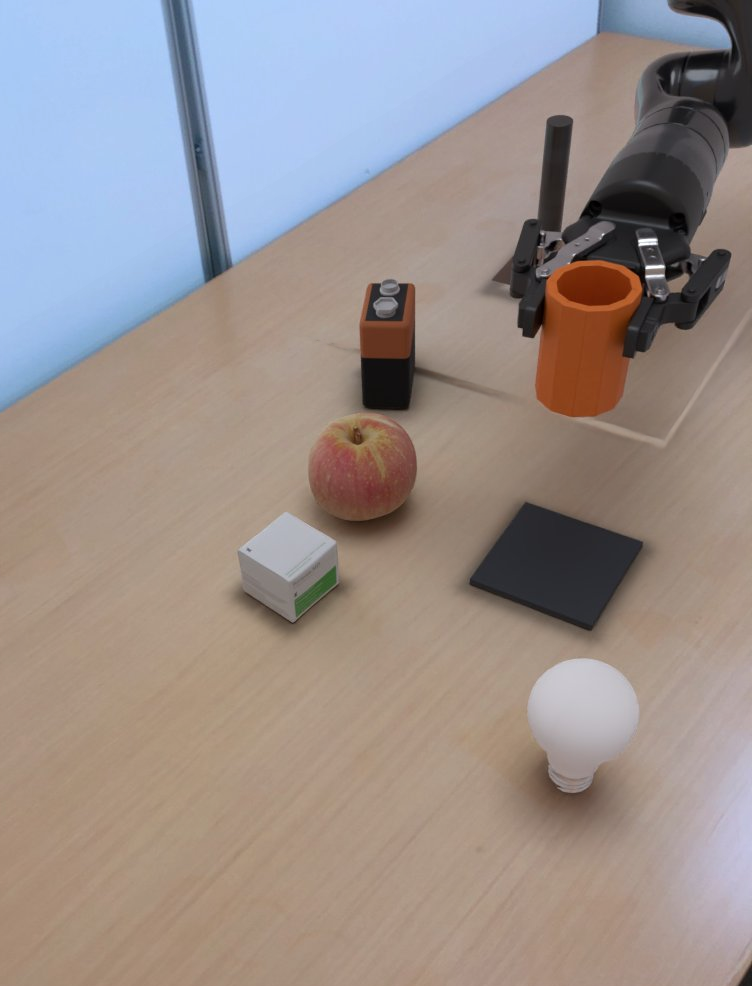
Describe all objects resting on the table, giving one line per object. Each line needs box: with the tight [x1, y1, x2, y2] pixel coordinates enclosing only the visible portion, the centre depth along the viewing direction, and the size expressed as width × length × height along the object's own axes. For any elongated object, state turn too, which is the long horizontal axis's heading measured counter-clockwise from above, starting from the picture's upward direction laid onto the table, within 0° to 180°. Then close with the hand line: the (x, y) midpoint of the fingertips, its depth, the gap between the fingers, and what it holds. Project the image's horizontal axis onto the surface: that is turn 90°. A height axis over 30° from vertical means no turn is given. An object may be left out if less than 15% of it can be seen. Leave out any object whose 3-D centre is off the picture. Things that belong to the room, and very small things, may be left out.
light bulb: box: [526, 657, 640, 794], centre depth 69 cm, size 7×7×11 cm
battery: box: [358, 278, 416, 410], centre depth 99 cm, size 4×7×10 cm, turn 170°
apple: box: [307, 412, 418, 522], centre depth 90 cm, size 9×9×8 cm
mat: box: [469, 501, 644, 631], centre depth 86 cm, size 10×10×1 cm
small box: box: [237, 511, 340, 623], centre depth 85 cm, size 6×6×5 cm
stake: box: [491, 114, 574, 286], centre depth 106 cm, size 8×8×16 cm
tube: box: [534, 260, 642, 418], centre depth 71 cm, size 6×6×8 cm
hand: (578, 335), depth 68 cm, fingers closed on tube, 5 cm apart
